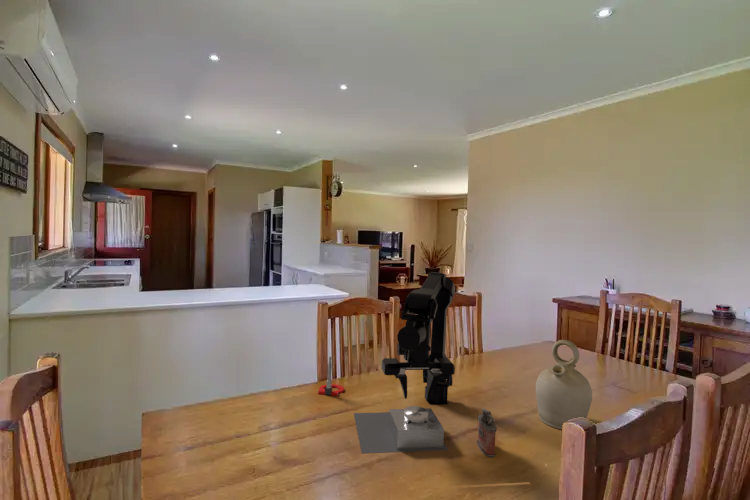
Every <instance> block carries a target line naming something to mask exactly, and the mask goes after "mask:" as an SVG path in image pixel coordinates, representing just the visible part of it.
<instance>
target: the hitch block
mask: <svg viewBox="0 0 750 500" xmlns="http://www.w3.org/2000/svg"><path fill="white" fill-rule="evenodd" d="M404 409H405V408H389V410H388V412H389V429H390V432H391V435H392V437H393V440H394V443H395V446H396V448H397V450H404V449H431V448H443V442H444V439H445V438H444V437H445V428H444V426H443V425H442V423H441V422H440V420H439V419H438V417H437V415H436V413H434V410H433V409H432V408H428V407H427V408H426V407H425V409H426V410H427V411H428V421H427V422H426V423H424V424H411V423H408V422H406V421H405V420H404Z"/></svg>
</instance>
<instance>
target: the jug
mask: <svg viewBox="0 0 750 500" xmlns="http://www.w3.org/2000/svg"><path fill="white" fill-rule="evenodd" d="M563 345H564V346H566V347H569V349H571V351H572V354H573V355H572V357H571V358H570V359H569V360H565V359H563V358H562V357H560V355H559V354H558V353H559V352H558V350H559V347H561V346H563ZM551 356H552V358H553V359H554V361H555V362H556V364H554V365H552V366H549V367H547V368H545V369H543V370H542V371H541V372H540V373H539V374H538V376H537V378H536V382H535V398H536V404H537V405H536V406H537V414H538V417H539V419H540V421H541V422H542V423H544V424H545V425H547V426H549V427H551V428H554V429H556V430H561V431H562V425H563V423H564V422H566V421H568V420H570V419H573V418H578V417H584V418H587V419H588V415H589V413H590V408H591V405H592V402H593V391H592V390H593V389H592V386H591V383H590V382H589V380H588V379H587V377H586V376H585V375H583V374H582V372H580V371H578V370H577V369H576V366H577V363H578V361H580V351H579V348H578V347H577V345H576V344H575V343H574V342H572V341H571V340H569V339H559V340H556V342H554V344H553V345H552V348H551Z"/></svg>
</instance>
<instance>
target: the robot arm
mask: <svg viewBox="0 0 750 500" xmlns="http://www.w3.org/2000/svg"><path fill="white" fill-rule="evenodd" d="M420 286H421V287H420V288H417V289H413V290H411V291H410V292H409V293H408V295H407V296H406V297H405V300H404V304H403V310H402V313H401V316H400V319H401V320H402V321H405V325H404V326H402V327H401V328H400V329H399V330H398V332H397V333H398V334H397V337H396V338H397V339H396V340H397V343H396V344H397V346H396V348H397V349H396V354H397V356H403V359H404V360H405V362H399V359H398V358H394V357H393V358H392V357H391V358H389V357H385V358H383V359H382V360H381V367H380V368H381V370H382V373H383V375H385V376H394V377H395V379H398V381H399V383H400V385H401V386H400V387H401V389H402V394H403V397H404V399H405V400H407V398H408V376H407V374H406V371H420V370H421V371H422V382H423V384H426V385H425V387H424V399H425V401H426V402H427V404H429V405H431V406H432V405H433V406H434V405H436V406H437V405H442V406H443V405H449V403H450V402H448V395H449V394H448V393H449V391H448V390H449V389H448V388H449V387H451V386H453V381H454V380H453V375H455V373H456V372H455V371H456V366H455V364H454V363H453V362H452V361H451V360H450V359H449V358H448V357H447V355H446V351H445V350H446V335H447V334H446V333H447V319H448V318H447V316H448V315H447V313H448V308H449V306H450V305H451V303H452V302H453V297H455V293H456V285H455V283H454V281H453V280H452V279H451V278H449V277H447V274H446V273H443V272H436V271H435V272H434V271H432V272H428V275H427V278H426V280H425V281H424V282H423V284H422V285H420ZM431 323H432V324H431Z"/></svg>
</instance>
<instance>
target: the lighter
mask: <svg viewBox="0 0 750 500" xmlns="http://www.w3.org/2000/svg"><path fill="white" fill-rule="evenodd" d="M481 413H482V414H479V415H478V416H477V420H478V425H477V426H478V427H477V429H478V430H477V439H476V444H477V445H476V446H477V448H478V449H479V450H480V452H481V453H482V454H483V455H484V456H485V457H487V458H495V457H496V453H495V451H496V450H495V449H496V448H495V447H496V434H497V433H496V432H497V429H498V428H497V425H496V423H495V418H494V416H493V415H492V412H491V410H488V409H487V408H482V409H481Z"/></svg>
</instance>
